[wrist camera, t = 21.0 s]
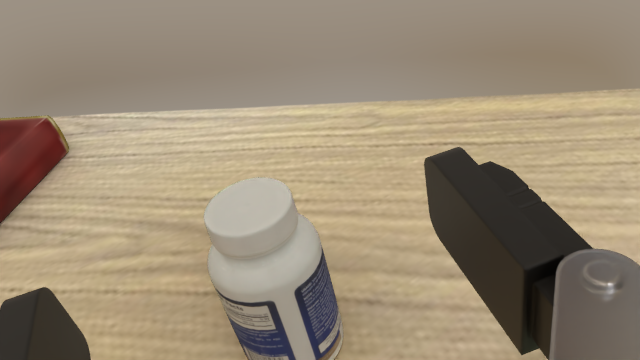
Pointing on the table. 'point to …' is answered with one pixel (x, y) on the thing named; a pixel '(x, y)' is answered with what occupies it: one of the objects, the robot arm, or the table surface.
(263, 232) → the pill bottle
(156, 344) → the table surface
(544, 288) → the robot arm
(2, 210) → the hardcover book
